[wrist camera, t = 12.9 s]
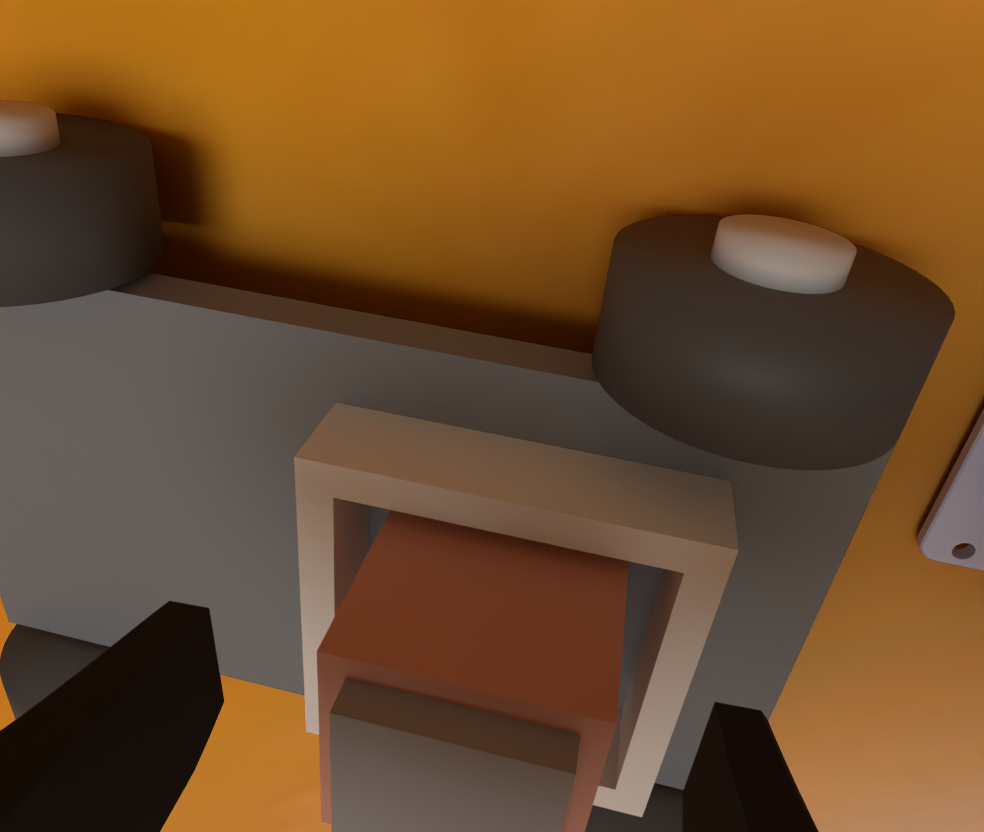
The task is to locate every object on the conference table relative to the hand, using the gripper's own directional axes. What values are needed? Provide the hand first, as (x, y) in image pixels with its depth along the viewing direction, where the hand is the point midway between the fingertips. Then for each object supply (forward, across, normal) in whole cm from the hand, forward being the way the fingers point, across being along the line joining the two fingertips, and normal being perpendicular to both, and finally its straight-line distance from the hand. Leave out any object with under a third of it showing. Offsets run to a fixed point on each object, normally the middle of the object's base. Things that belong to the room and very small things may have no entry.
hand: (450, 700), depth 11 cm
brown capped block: (+7, 0, +4) cm, 7 cm away
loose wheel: (+11, +12, -4) cm, 16 cm away
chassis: (+10, +4, +4) cm, 12 cm away
